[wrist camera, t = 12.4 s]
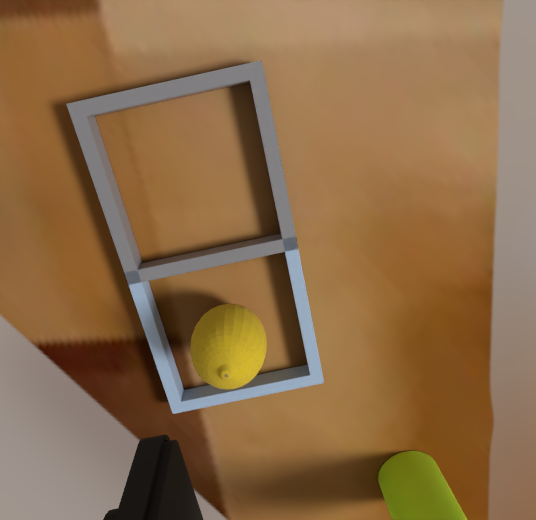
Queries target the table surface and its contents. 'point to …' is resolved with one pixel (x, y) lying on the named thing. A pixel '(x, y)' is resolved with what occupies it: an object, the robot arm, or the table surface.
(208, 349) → the lemon
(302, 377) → the grey divided frame
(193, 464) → the table surface
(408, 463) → the soap dispenser
